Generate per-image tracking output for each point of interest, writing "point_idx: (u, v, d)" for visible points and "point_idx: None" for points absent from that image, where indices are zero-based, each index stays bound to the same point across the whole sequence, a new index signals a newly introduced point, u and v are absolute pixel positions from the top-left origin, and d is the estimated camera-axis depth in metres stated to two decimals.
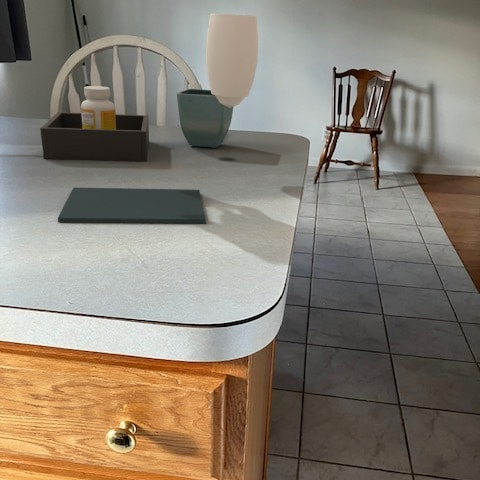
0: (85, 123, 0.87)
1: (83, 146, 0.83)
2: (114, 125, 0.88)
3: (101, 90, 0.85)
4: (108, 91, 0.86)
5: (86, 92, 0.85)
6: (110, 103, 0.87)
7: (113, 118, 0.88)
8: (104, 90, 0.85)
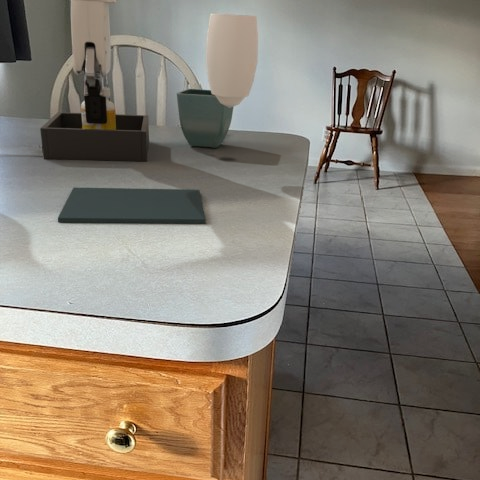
0: (85, 123, 0.87)
1: (83, 146, 0.83)
2: (114, 125, 0.88)
3: None
4: (108, 91, 0.86)
5: None
6: (110, 103, 0.87)
7: (113, 118, 0.88)
8: (104, 90, 0.85)
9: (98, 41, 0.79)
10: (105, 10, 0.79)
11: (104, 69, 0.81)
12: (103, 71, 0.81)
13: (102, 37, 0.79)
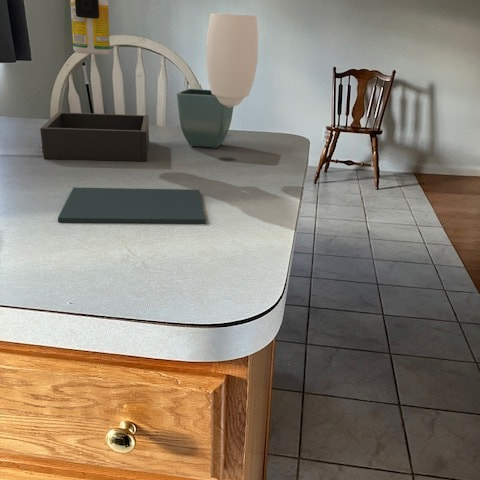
0: (75, 18, 0.78)
1: (83, 146, 0.83)
2: (107, 24, 0.80)
3: None
4: None
5: None
6: None
7: (106, 15, 0.79)
8: None
9: None
10: None
11: None
12: None
13: None
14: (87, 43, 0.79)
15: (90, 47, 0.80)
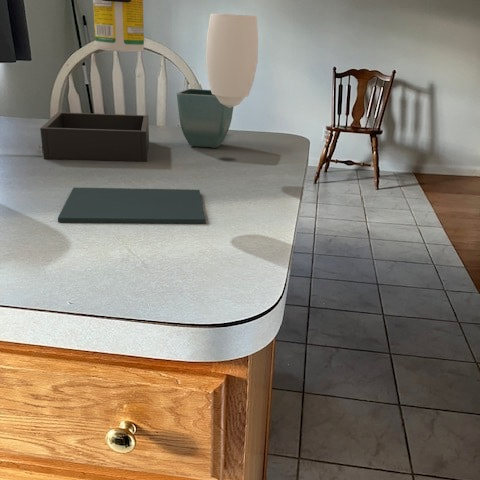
0: (98, 3, 0.57)
1: (83, 146, 0.83)
2: (141, 10, 0.59)
3: None
4: None
5: None
6: None
7: None
8: None
9: None
10: None
11: None
12: None
13: None
14: (115, 37, 0.58)
15: (119, 41, 0.58)
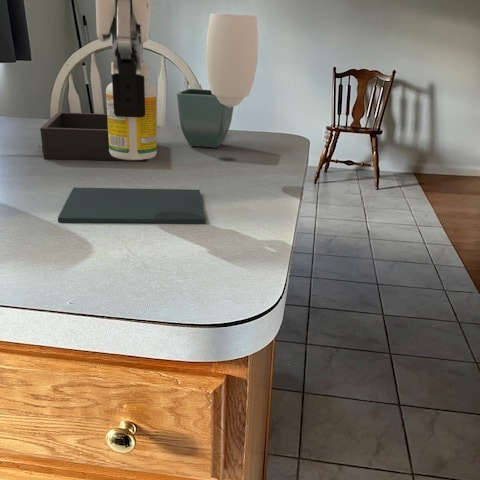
0: (113, 116, 0.58)
1: (83, 146, 0.83)
2: (154, 120, 0.60)
3: None
4: (147, 68, 0.57)
5: None
6: (150, 87, 0.58)
7: (154, 109, 0.59)
8: (142, 66, 0.56)
9: None
10: None
11: (144, 32, 0.52)
12: (143, 35, 0.52)
13: None
14: (129, 148, 0.59)
15: (132, 152, 0.59)
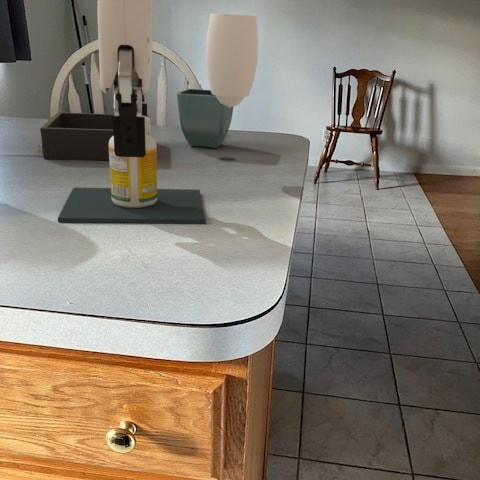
0: (115, 168, 0.61)
1: (83, 146, 0.83)
2: (155, 170, 0.62)
3: None
4: (148, 123, 0.60)
5: None
6: (150, 139, 0.61)
7: (154, 160, 0.61)
8: None
9: (138, 44, 0.52)
10: None
11: (146, 85, 0.54)
12: (144, 88, 0.54)
13: (144, 38, 0.52)
14: (130, 197, 0.62)
15: (134, 200, 0.62)
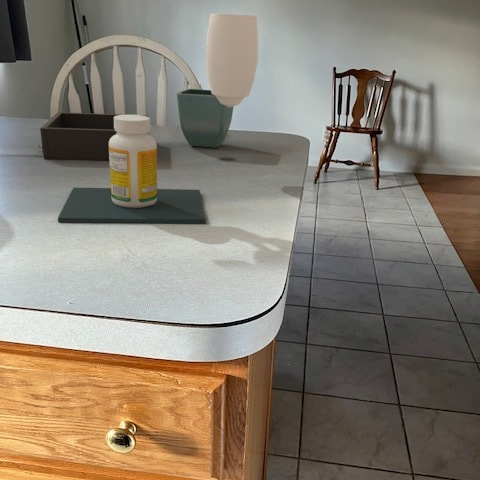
0: (115, 167, 0.61)
1: (83, 146, 0.83)
2: (155, 170, 0.62)
3: (139, 122, 0.59)
4: (148, 123, 0.60)
5: (117, 124, 0.59)
6: (150, 139, 0.61)
7: (154, 160, 0.61)
8: (143, 122, 0.59)
9: None
10: None
11: None
12: None
13: None
14: (130, 197, 0.62)
15: (134, 200, 0.62)
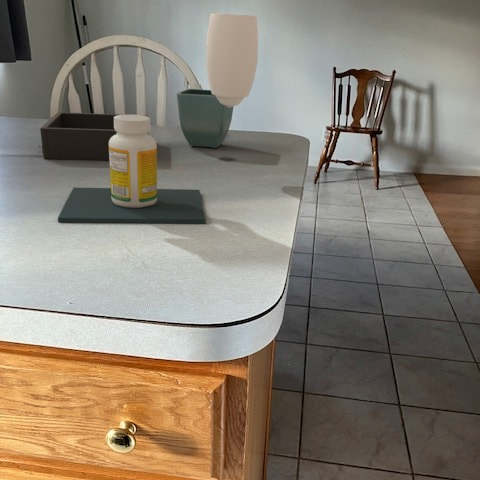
0: (115, 167, 0.61)
1: (83, 146, 0.83)
2: (155, 170, 0.62)
3: (139, 122, 0.59)
4: (148, 123, 0.60)
5: (117, 124, 0.59)
6: (150, 139, 0.61)
7: (154, 160, 0.61)
8: (143, 122, 0.59)
9: None
10: None
11: None
12: None
13: None
14: (130, 197, 0.62)
15: (134, 200, 0.62)
